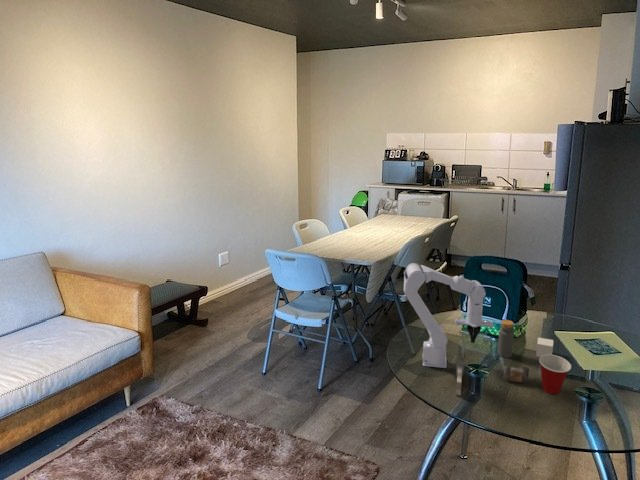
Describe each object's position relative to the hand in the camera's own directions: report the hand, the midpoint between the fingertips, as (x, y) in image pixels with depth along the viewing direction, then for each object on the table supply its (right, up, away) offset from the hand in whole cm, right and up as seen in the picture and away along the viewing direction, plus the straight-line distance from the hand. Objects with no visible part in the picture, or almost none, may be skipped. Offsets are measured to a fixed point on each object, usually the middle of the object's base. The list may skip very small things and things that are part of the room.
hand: (472, 341), depth 202 cm
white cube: (+32, -7, +7) cm, 34 cm away
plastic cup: (+24, -15, -18) cm, 33 cm away
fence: (+13, -13, -11) cm, 21 cm away
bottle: (+16, -7, +8) cm, 19 cm away
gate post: (-7, -12, -6) cm, 15 cm away
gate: (-9, -14, -14) cm, 22 cm away
